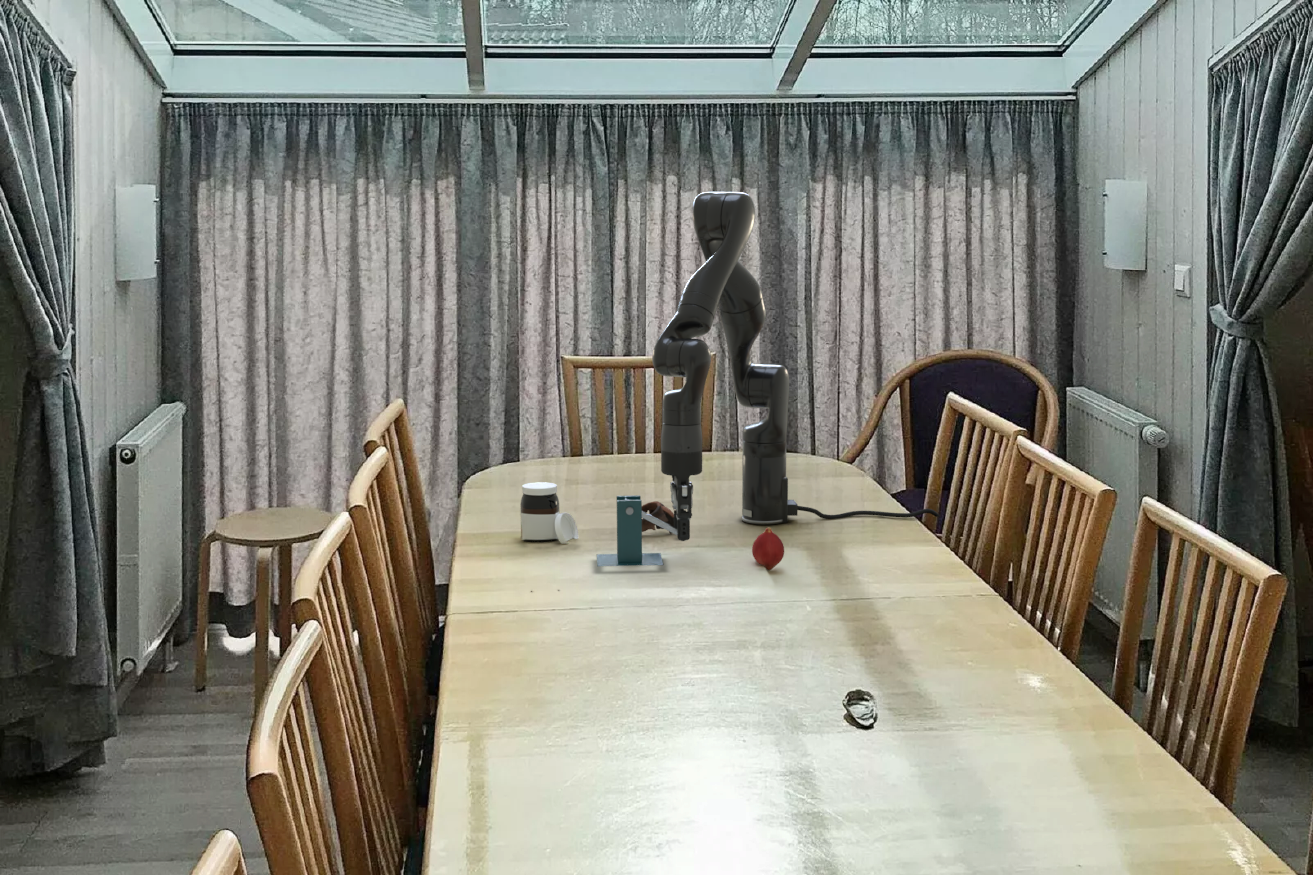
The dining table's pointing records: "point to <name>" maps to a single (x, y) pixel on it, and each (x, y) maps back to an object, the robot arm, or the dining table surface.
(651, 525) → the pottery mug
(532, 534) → the spread jar
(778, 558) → the onion
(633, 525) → the bracket
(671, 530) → the lever
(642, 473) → the dining table surface
